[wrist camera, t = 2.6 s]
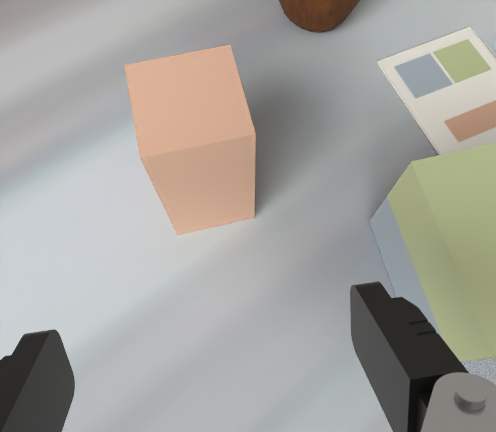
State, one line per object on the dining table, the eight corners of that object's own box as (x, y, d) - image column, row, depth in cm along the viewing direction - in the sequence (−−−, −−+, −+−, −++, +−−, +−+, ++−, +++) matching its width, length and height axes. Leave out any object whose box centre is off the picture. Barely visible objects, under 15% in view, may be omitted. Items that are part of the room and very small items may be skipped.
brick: (164, 166, 30) (124, 65, 20) (236, 151, 30) (230, 44, 21) (177, 234, 28) (140, 158, 19) (254, 217, 28) (255, 133, 19)
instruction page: (376, 62, 33) (377, 60, 32) (468, 28, 34) (470, 25, 33) (451, 174, 29) (453, 172, 29) (551, 132, 30) (554, 129, 30)
